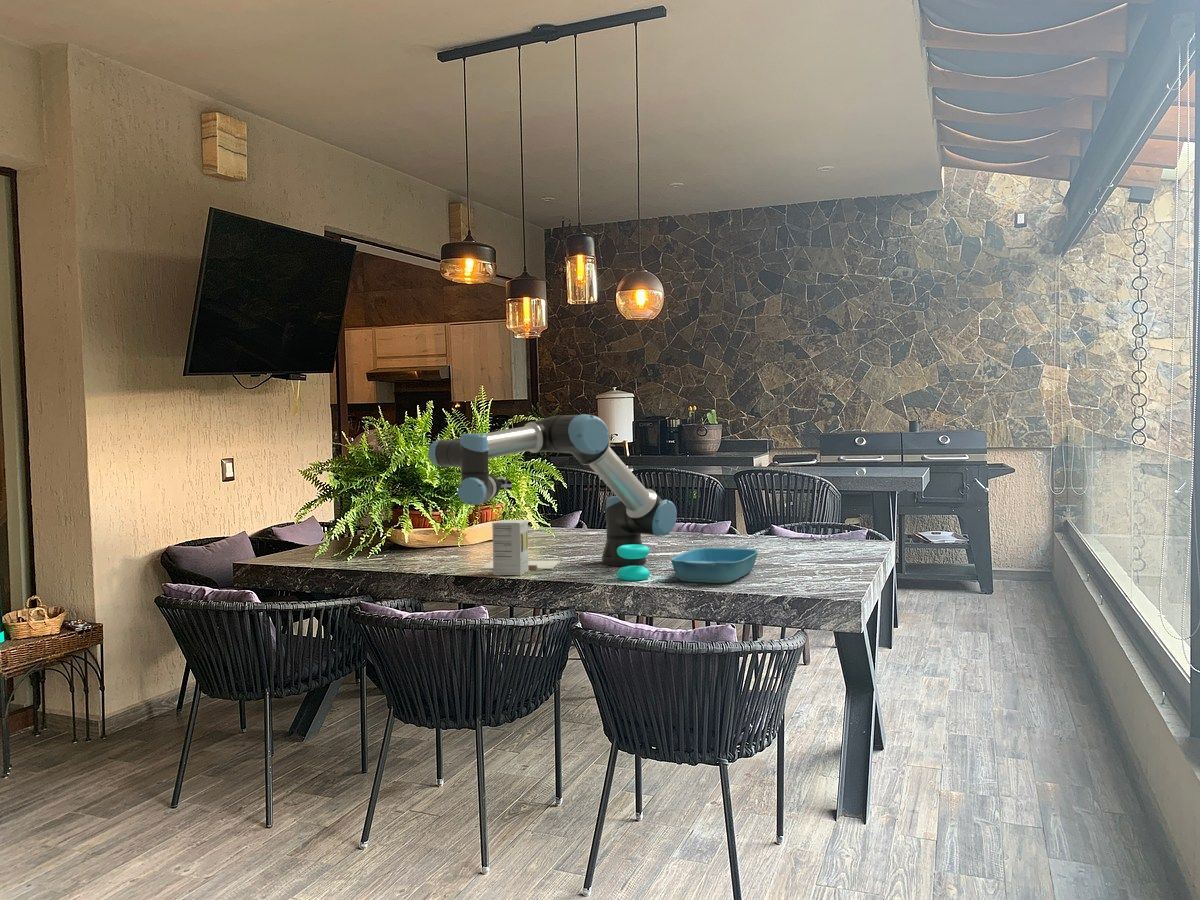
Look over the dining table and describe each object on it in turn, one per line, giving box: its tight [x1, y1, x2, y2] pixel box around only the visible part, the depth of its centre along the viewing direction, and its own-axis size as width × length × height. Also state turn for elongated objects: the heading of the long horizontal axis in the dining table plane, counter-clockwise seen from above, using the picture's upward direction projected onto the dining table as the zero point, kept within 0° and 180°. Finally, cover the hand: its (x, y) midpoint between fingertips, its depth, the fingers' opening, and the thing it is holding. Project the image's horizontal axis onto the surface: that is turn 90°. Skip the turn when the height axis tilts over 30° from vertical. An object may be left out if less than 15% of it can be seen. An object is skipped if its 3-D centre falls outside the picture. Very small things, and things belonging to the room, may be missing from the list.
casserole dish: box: [670, 546, 759, 584], centre depth 290 cm, size 37×22×7 cm, turn 157°
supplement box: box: [491, 519, 529, 576], centre depth 300 cm, size 10×9×17 cm
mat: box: [480, 560, 561, 571], centre depth 315 cm, size 24×17×2 cm
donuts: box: [616, 544, 651, 582], centre depth 287 cm, size 10×10×10 cm
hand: (503, 481), depth 291 cm, fingers closed
